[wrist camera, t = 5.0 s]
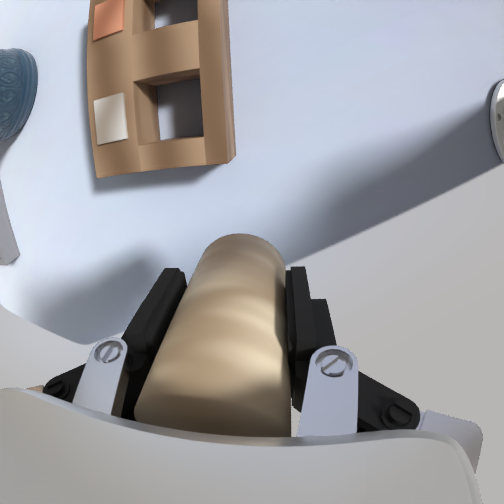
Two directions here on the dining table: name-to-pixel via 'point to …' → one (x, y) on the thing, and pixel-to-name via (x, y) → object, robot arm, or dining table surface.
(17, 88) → the canister
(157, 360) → the peg
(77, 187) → the dining table surface
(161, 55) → the socket block
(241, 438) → the robot arm
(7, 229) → the fruit corral
